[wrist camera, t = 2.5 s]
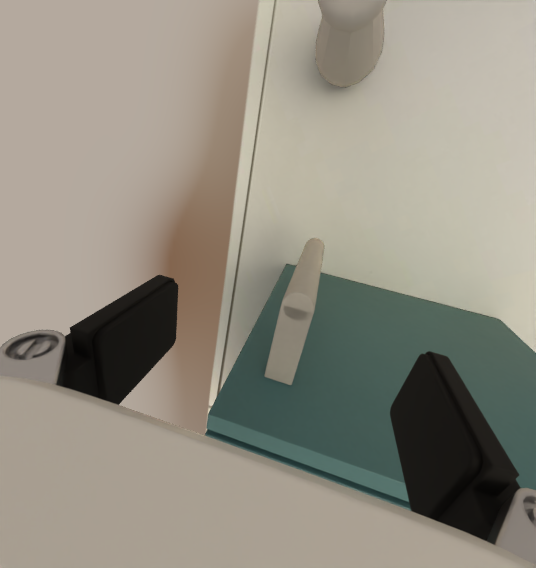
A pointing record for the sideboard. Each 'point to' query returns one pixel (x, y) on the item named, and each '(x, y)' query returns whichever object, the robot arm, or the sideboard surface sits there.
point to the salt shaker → (349, 39)
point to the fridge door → (365, 375)
